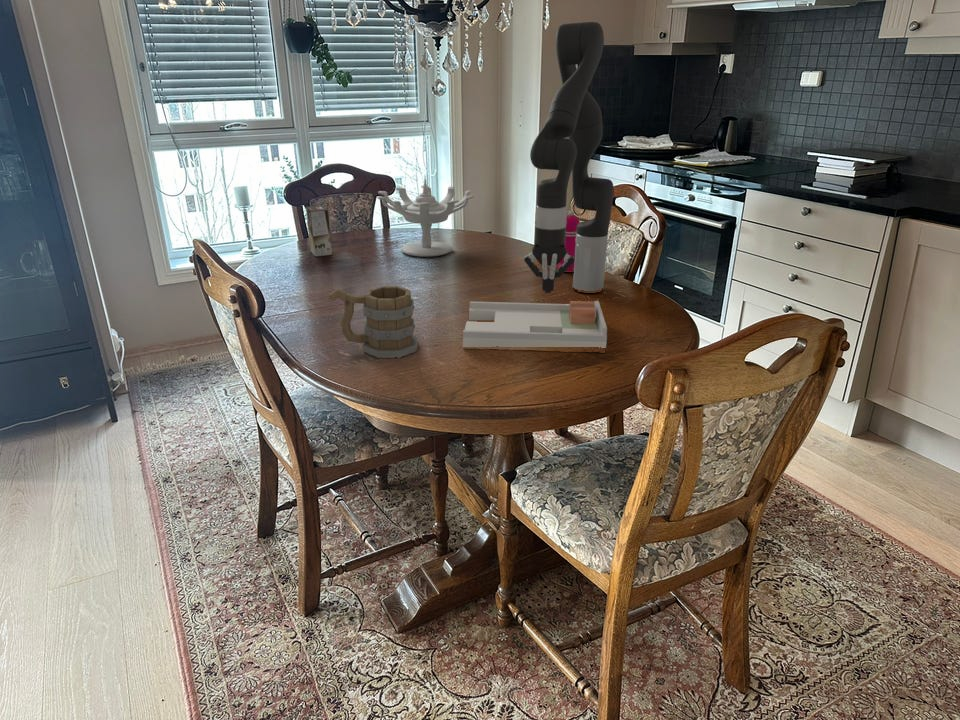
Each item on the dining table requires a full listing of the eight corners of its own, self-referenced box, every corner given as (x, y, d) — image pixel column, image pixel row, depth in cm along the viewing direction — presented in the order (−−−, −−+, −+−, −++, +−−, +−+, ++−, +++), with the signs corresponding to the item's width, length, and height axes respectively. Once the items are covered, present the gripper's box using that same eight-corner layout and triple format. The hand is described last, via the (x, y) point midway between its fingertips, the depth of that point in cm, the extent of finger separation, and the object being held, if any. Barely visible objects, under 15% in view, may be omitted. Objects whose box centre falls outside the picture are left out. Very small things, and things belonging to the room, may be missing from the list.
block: (569, 315, 171) (570, 301, 169) (592, 316, 170) (593, 301, 169) (570, 323, 165) (571, 308, 164) (594, 324, 165) (595, 309, 163)
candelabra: (383, 267, 221) (378, 184, 210) (377, 242, 252) (373, 169, 241) (482, 262, 227) (482, 182, 216) (464, 238, 259) (464, 167, 247)
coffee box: (332, 254, 235) (328, 209, 228) (314, 256, 232) (310, 211, 226) (326, 248, 242) (322, 205, 236) (309, 250, 240) (304, 206, 233)
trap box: (470, 317, 178) (470, 296, 175) (596, 320, 176) (598, 299, 173) (462, 349, 158) (462, 325, 155) (605, 353, 156) (607, 330, 153)
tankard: (418, 337, 164) (416, 280, 158) (415, 358, 152) (413, 297, 146) (338, 338, 163) (333, 280, 157) (329, 359, 152) (323, 297, 146)
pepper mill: (561, 274, 215) (565, 213, 207) (553, 268, 221) (556, 208, 213) (581, 273, 217) (586, 212, 208) (573, 267, 223) (577, 207, 215)
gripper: (576, 221, 162) (572, 287, 169) (523, 220, 163) (521, 287, 170) (579, 228, 155) (574, 297, 163) (523, 227, 156) (521, 296, 163)
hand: (547, 292), depth 166 cm, fingers closed
